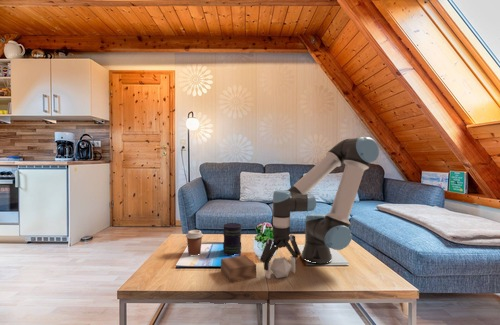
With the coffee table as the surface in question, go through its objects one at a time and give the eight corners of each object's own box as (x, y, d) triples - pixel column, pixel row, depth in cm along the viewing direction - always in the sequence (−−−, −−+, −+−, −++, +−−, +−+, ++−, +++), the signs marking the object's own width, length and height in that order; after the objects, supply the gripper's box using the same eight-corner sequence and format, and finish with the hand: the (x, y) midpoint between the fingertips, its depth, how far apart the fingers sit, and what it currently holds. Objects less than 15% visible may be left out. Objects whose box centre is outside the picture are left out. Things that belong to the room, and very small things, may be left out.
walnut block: (244, 267, 127) (245, 255, 127) (256, 278, 116) (256, 264, 116) (220, 272, 122) (220, 258, 122) (230, 283, 111) (230, 269, 111)
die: (289, 283, 112) (296, 261, 117) (272, 274, 111) (280, 252, 116) (281, 282, 120) (287, 261, 124) (264, 273, 118) (272, 253, 123)
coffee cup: (182, 253, 144) (182, 231, 143) (197, 249, 150) (197, 228, 149) (190, 258, 137) (190, 235, 136) (206, 254, 143) (206, 232, 142)
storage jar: (224, 256, 140) (224, 228, 140) (221, 250, 150) (222, 223, 149) (242, 255, 142) (243, 227, 142) (239, 248, 152) (239, 222, 152)
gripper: (298, 221, 126) (297, 265, 127) (252, 227, 115) (252, 276, 115) (308, 224, 120) (308, 272, 120) (261, 231, 108) (260, 283, 108)
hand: (280, 274), depth 118 cm, fingers open, 12 cm apart
